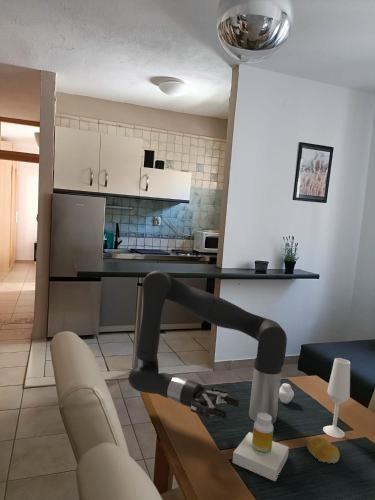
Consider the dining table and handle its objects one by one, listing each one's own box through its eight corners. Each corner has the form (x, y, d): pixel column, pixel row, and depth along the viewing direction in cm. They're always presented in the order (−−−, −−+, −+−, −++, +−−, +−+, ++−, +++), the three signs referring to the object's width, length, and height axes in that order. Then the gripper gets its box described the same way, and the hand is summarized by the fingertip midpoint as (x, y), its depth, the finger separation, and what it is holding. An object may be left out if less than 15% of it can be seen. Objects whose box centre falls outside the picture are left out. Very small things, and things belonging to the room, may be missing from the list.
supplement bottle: (271, 457, 97) (274, 423, 96) (251, 453, 98) (254, 419, 97) (270, 445, 102) (274, 413, 102) (251, 441, 103) (255, 409, 103)
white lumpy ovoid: (284, 406, 132) (286, 388, 131) (273, 398, 137) (274, 381, 137) (296, 403, 135) (298, 385, 134) (284, 396, 140) (286, 378, 140)
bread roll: (323, 467, 100) (325, 453, 100) (302, 447, 108) (303, 435, 108) (346, 462, 103) (347, 449, 103) (324, 443, 111) (325, 431, 111)
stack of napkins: (248, 441, 109) (249, 431, 108) (287, 457, 103) (288, 447, 102) (232, 462, 98) (233, 452, 98) (275, 481, 92) (276, 470, 92)
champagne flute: (340, 440, 113) (349, 366, 111) (319, 430, 118) (327, 359, 116) (347, 432, 118) (356, 361, 116) (327, 423, 123) (335, 355, 121)
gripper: (174, 388, 106) (223, 406, 98) (197, 373, 118) (243, 388, 110) (171, 412, 107) (221, 432, 99) (195, 394, 119) (240, 411, 111)
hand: (232, 409), depth 104 cm, fingers open, 8 cm apart
